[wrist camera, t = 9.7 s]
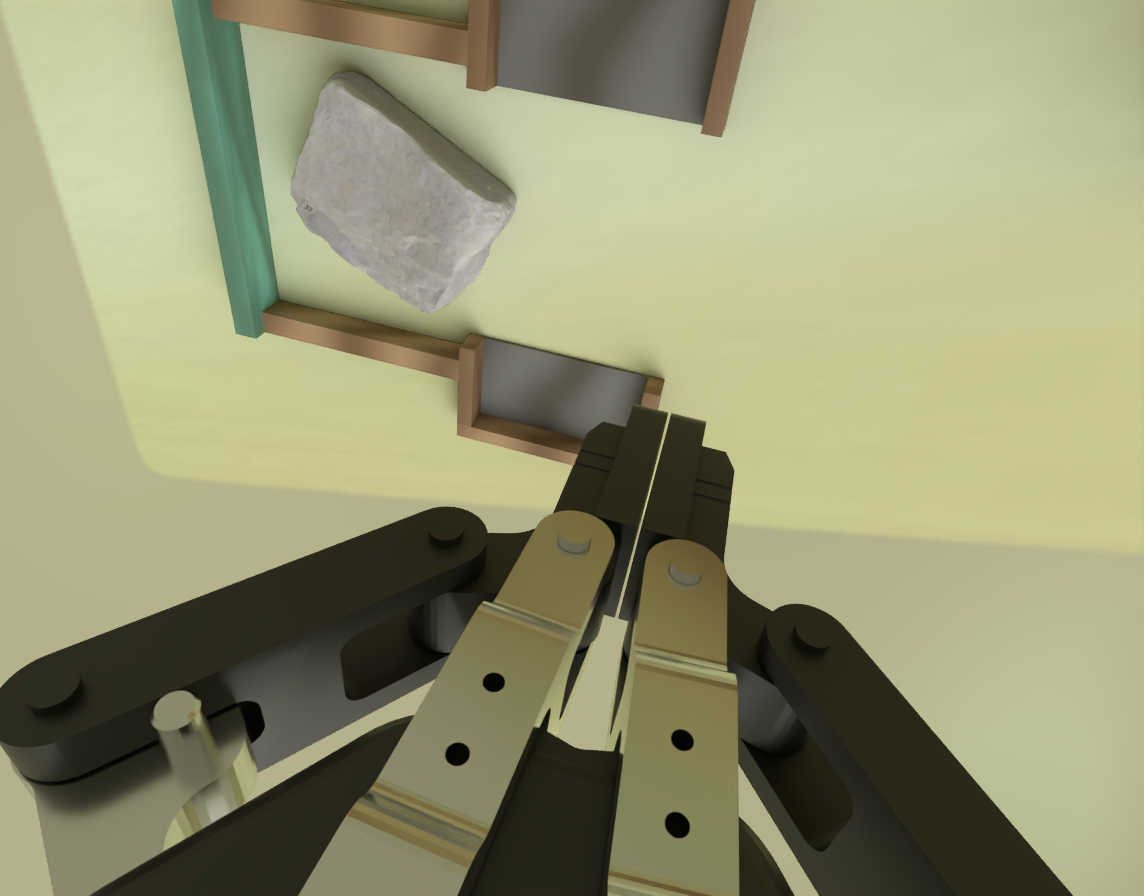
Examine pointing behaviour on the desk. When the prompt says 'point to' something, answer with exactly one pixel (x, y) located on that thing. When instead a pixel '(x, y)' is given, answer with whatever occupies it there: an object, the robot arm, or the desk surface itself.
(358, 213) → the stone block
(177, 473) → the desk surface
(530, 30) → the trap lane
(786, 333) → the desk surface
